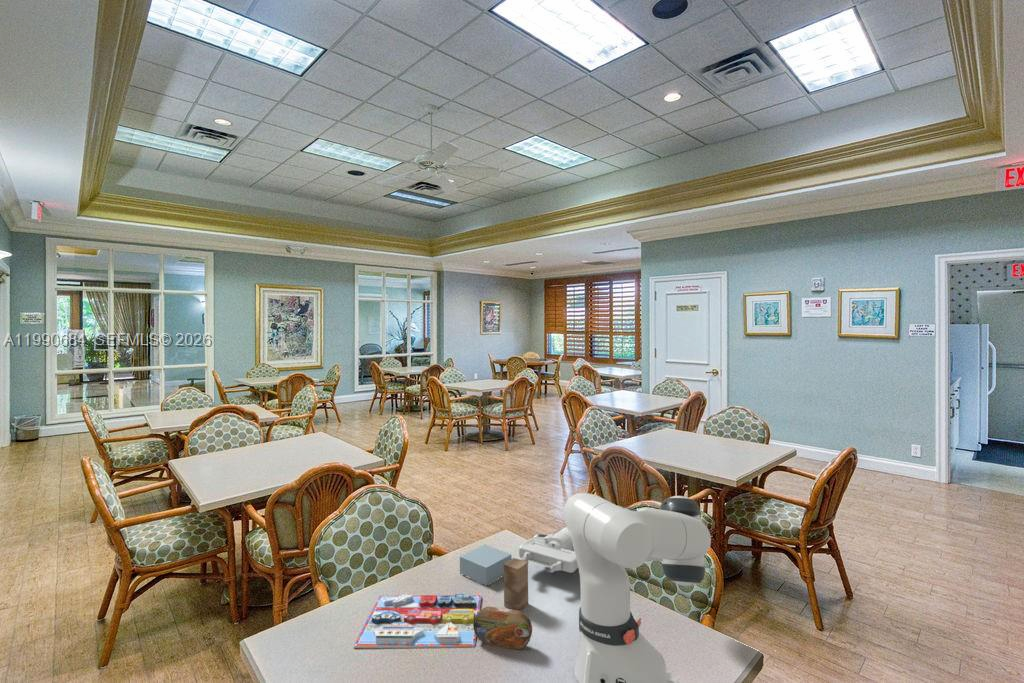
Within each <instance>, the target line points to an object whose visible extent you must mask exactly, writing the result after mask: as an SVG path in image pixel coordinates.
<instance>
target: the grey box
mask: <svg viewBox="0 0 1024 683" xmlns="http://www.w3.org/2000/svg"><path fill="white" fill-rule="evenodd" d="M511 559H513V558H512V553H510V552H506V551H503V550H501V549H498V548H496V547H494V546H491V545H488V544H483V545H481V546H479V547H477V548H475V549H473V550H471V551H468V552H466V553H464V554H463V555H460V556H459V575H461V574H463V575H465V576H468V577H470V578H472V579H474V580H476V581H478V582H480V583H482V584H484V585H483V586H485V585H488V584H490V583H491V584H493V583H494V582H493V581H495V580H496V579H498V578H500V577H501V576H503V575H504V564H505V563H507V562H508V561H510V560H511ZM463 575H462V576H463ZM465 576H464V577H465ZM503 577H504V576H503ZM472 579H471V580H472ZM500 579H501V578H500ZM474 580H473V581H474ZM498 580H499V579H498ZM476 581H475V582H476ZM496 581H497V580H496ZM496 581H495V582H496ZM478 582H477V583H478ZM492 582H493V583H492ZM480 583H479V584H480ZM482 584H481V585H482ZM491 584H490V585H491ZM488 586H489V585H488Z"/></svg>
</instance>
